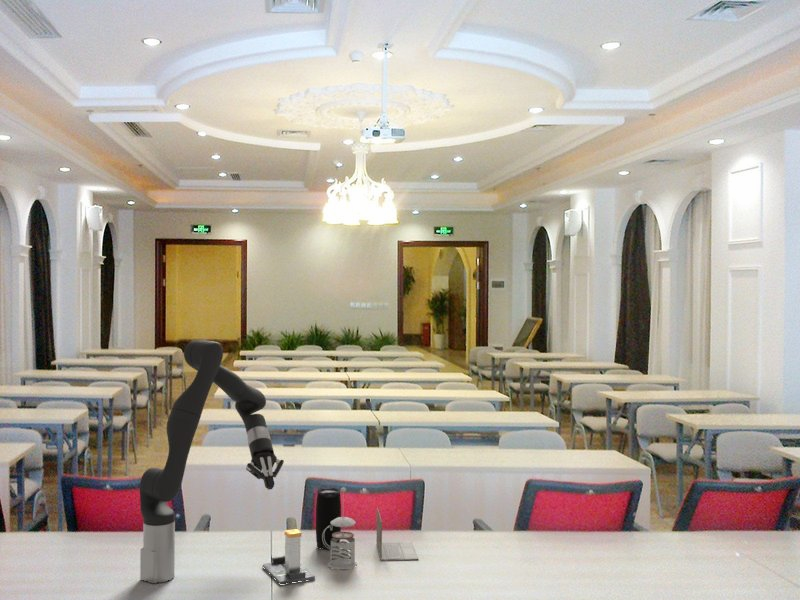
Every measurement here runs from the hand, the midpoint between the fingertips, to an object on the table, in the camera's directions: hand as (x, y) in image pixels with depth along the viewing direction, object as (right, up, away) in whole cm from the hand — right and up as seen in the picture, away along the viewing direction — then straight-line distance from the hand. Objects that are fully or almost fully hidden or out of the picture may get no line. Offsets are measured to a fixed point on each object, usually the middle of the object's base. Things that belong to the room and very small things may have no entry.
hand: (270, 488), depth 270 cm
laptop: (+41, -24, +12) cm, 49 cm away
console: (+7, -24, -11) cm, 27 cm away
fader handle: (+9, -23, -15) cm, 29 cm away
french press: (+22, -24, -2) cm, 33 cm away
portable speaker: (+17, -24, +16) cm, 33 cm away
